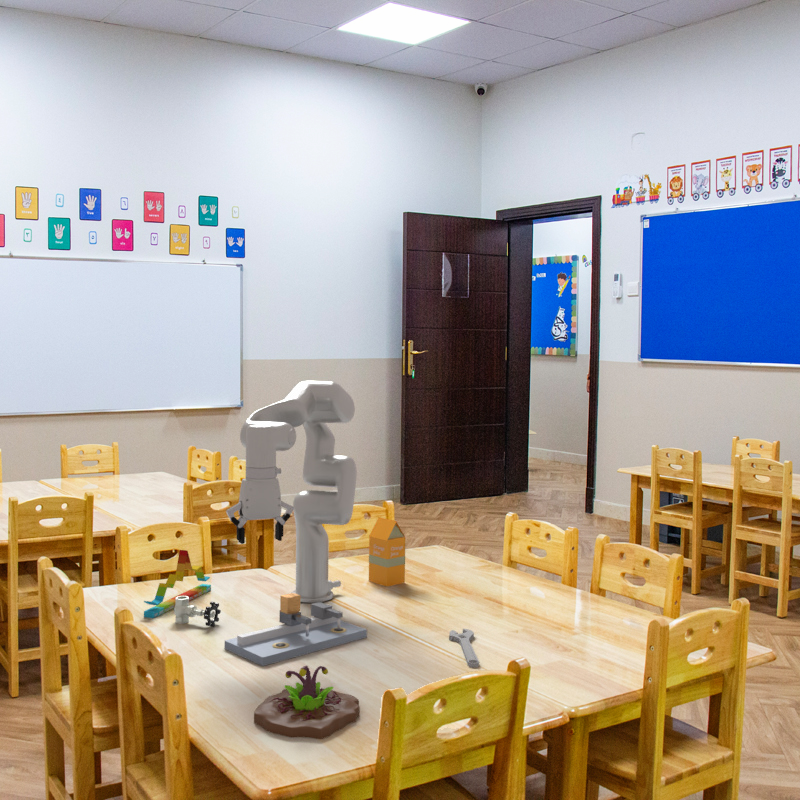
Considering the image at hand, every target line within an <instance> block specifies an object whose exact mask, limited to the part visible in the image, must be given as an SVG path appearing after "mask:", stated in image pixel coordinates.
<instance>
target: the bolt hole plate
mask: <svg viewBox="0 0 800 800" xmlns="http://www.w3.org/2000/svg"><path fill="white" fill-rule="evenodd" d="M343 614H344V613H343V611H340V610H337V609H334V608H333V605H330V604H327V603H323V602H317V603H310V616H312V617H310V618H311V624H309V636H306V624H303V623H301V624H299V625H295V626H289V625H286V624H284V623H282V624H280V625H275V626H271V627H266V628H263V629H259V630H255V631H251V632H250V631H249V632H246V633H242V634H237V636H236V637H233V638H229V639H225V640H224V649H225V650H227V651H229V652H231V653H233V654H235V655H238V656H240V657H242V658H243V659H247V660H249V661H251V662H253V663H255V664H257V665H260V666H262V667H264V666H267V665H271V664H275V663H278V662H282V661H285V660H289V659H293V658H296V657H299V656H304V655H307V654H311V653H315V652H319V651H322V650H326V649H329V648H332V647H337V646H340V645H344V644H347V643H351V642H355V641H357V640H358V641H359V640H361V639H365V638H367V637H368V636H367V635H368V629H367V628H365V627H364V628H363V627H361V626H359V625H355V624H353V623H350V622H347V621H344V620H341V618H343Z"/></svg>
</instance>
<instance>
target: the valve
mask: <svg viewBox="0 0 800 800" xmlns="http://www.w3.org/2000/svg"><path fill="white" fill-rule="evenodd" d="M175 597H176V596H175ZM209 605H210V606H206V607H205V610H204V609H203V608H197V606H196V605H190V601H189V597H187V596H179V597H176V605H175V608H173V613H174V615H175V618H174V620H175V624H181V625H182V624H188V623H189V622H190V618H194V617H196V616H199V617H203V619H204V620H206V621H207V622H205V626H206V627H211V628H212V627H215V626H216V623H218V622H219V621H220V618H219V617H218V616H219V614H221V612H222V610H221V609H218V608H219V607H220V603H218V602H215V601H210V602H209ZM211 618H212V619H211Z"/></svg>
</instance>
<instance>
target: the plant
mask: <svg viewBox="0 0 800 800" xmlns="http://www.w3.org/2000/svg"><path fill="white" fill-rule="evenodd" d="M319 670H321V673H322V674H323V675H327V674H328V673H329V669H328V667H325V666H323V665H319V666H317V668H316V669H315V670H314V672H313V674H312V676H311V671H310V668H309V666H308V665H304V666H303V667H301V668H300V669H299V672H297V671H293V670H287V671H286V672H285V673H284V674H285V678H287V679H290V678H292V677H293V676H292V675H294V676H296V677H297V678H298V680H299V681H300V682H301V683H300V682H299V681H298V682H297V681H296V682H295V687H294V686H292V685H286V684H285V685H284V686H283V687H284V689H283V690H282V691H281V692H279V693H276V694H272V695H269V696H267V697H266V698H265V699H264V701H262V702H261V703H260V704H259V705H258V706H257V708H256V709H255V711H254V713H253V723H254V724H255V725H258V726H260V727H261V728H263V729H264V731H267V732H269V733H271V734H274V735H279V736H282V737H287V738H310V739H316V740H317V739H318V740H323V739H325V738H328V737H330V736H331V735H333V734H334V733H336V732H338V731H340V730H342V729H343V728H344V727H346V726H347V725H349V724H352V723H356V722H357V718H359V717H360V715H361V714H360V710H361V707H360V701H359V699H358V698H357V697H355V696H354V695H352V694H348V693H343V692H339V691H335V690H333V689H334V686H329V687H326V688H323V687H321V682H320V681H318V682H317V677H318V673H319ZM304 677H305V678H304Z"/></svg>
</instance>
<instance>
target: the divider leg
mask: <svg viewBox="0 0 800 800" xmlns="http://www.w3.org/2000/svg"><path fill="white" fill-rule="evenodd" d="M300 598H301V595H298V594H295V593H291V592H290V593H287V594H283V595H280V598H279V599H280V607H279V618H278V619H279V623H282V624H286V625H289V626H295V625H299V624H301V623H303V624H306V636H309V624H311V617H308V616H306V615H302V612H301V602H300Z"/></svg>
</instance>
